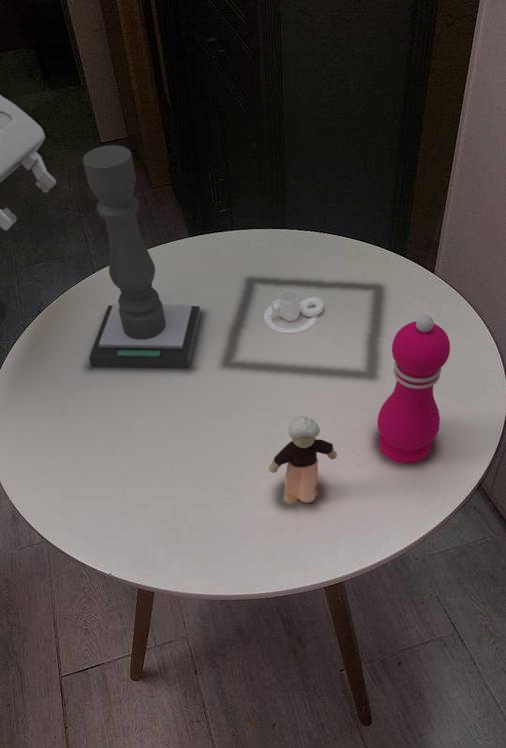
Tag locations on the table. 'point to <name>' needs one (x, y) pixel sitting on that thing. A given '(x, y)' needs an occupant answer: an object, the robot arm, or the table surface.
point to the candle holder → (125, 240)
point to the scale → (147, 341)
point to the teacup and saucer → (294, 310)
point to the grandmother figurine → (302, 460)
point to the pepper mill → (413, 392)
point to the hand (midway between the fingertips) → (32, 205)
